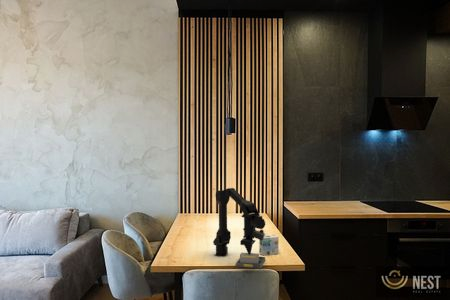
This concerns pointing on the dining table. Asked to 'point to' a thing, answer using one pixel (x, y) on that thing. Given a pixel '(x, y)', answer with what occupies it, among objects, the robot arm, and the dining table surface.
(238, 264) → the grey shallow square tray
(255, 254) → the panel
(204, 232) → the dining table surface
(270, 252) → the light bulb box
